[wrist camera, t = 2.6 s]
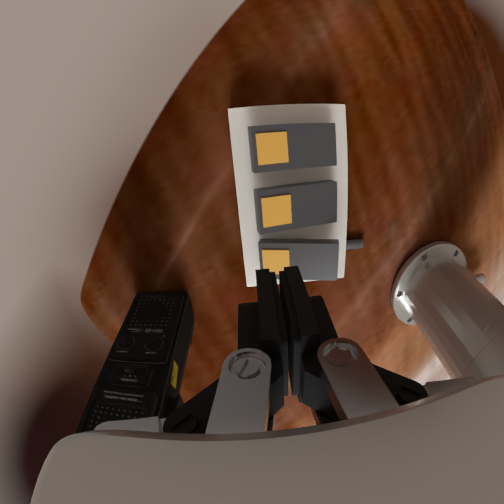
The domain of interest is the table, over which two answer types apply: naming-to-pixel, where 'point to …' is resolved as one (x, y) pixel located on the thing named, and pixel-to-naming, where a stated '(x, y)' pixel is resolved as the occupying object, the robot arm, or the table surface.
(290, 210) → the rocker middle
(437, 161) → the table surface
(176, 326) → the portable radio
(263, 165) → the rocker far end
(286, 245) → the rocker near arm
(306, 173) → the rocker switch panel
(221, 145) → the table surface
